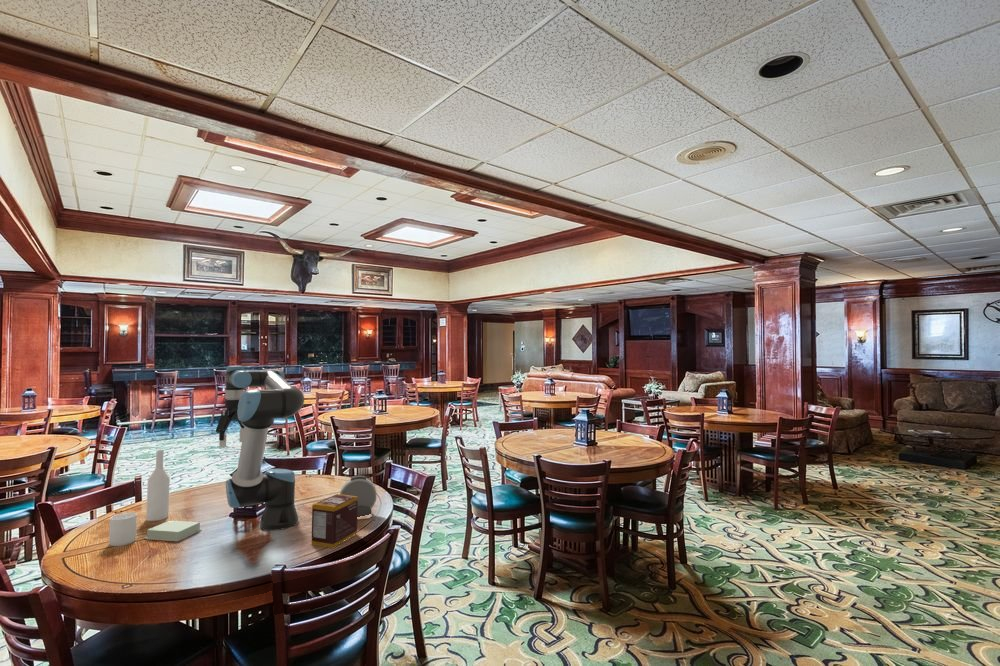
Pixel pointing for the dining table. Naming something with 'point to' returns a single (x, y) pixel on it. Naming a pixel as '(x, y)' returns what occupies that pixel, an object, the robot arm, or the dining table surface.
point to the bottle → (158, 491)
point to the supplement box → (334, 520)
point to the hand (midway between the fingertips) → (232, 444)
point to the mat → (172, 539)
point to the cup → (122, 529)
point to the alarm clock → (361, 493)
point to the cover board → (173, 530)
